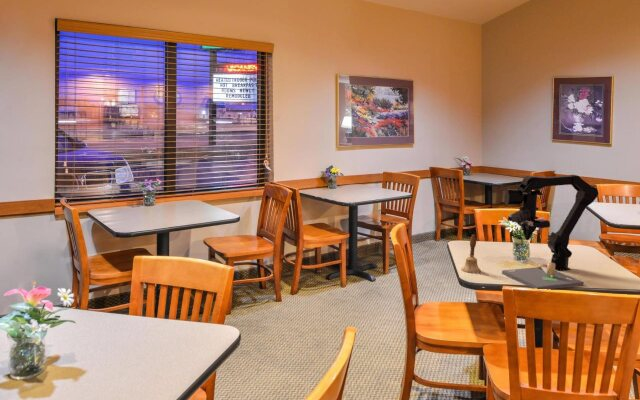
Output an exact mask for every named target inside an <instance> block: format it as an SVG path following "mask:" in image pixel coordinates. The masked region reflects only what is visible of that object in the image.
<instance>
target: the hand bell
mask: <svg viewBox="0 0 640 400" xmlns="http://www.w3.org/2000/svg"><path fill="white" fill-rule="evenodd" d="M476 245H477V238H476V234H471V237H470V240H469V246H470V252H469V256H467V257H466V258H465V263H464V265H463V266H461V268H460V270H461V271H462V272H465V273H470V274H479V273H481V271H482V270H481V269H480V267H479V266H478V259H477V258H476V257H475V247H476Z"/></svg>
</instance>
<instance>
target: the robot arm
mask: <svg viewBox="0 0 640 400" xmlns="http://www.w3.org/2000/svg"><path fill="white" fill-rule="evenodd" d="M568 185H571V186H572V187H573V189H574V190H575V191H576V194H575V202H574V204H573V205H572V207H571V209H570V211H569V212H568V214H567V216H566V218H564V221H563V222H562V225H561V226H560V228H559V229H558V230H557V231H556V232H553V231H552V232H551V233H550V236H549V237H548V238H547V243H546V244H547V247H548V248H549V249H550V252H551V253H552V255H551V259H550V260H551V261H550V263H555V271H558V272H560V271H569V270H571V268H570V267H569V259H570V258H571V257H572V255H573V252H572V251H571V250H570V249H569V248H568V246H569V243H570V236H571V234H572V233H573V230H574V229H575V227H576V226H577V223H578V222H579V220H580V218H581V216H583V213H584V212H585V209H586V208H587V207H588V206H589V205H591V204H592V203H594V201H595V200H596V199H597V198H598V196H599V190H598V188H597V187H595V186H592V185H591V184H590V183H588V182H587V181H585V180H584V179H583V178H581V177H580V175H577V174H567V175H557V176H538V175H525V176H524V177H523V179H522V181H521V183H520V184H519V186H517V188H516V189H511V188H507V189H506V192H505V193H504V196H503V197H504V198H503V199H504V204H505V205H506V206H514V205H515V206H520V207H519V210H517V211H516V212H514V213H509V215H508V216H507V217H508V218H507V221H508V222H512V223H516V224H517V225H518V226H519V227H521V229H522V233H523V236H524V239H525V240H526V241H529V240H530V238H531V237H532V235H533V234H534V231H536V229H537V228H538V229H546V228H550V227H551V222H550V220H548V219H543V218H541V219H538V218H539V217H538V216H537V211H538V210H539V207H537V205H538V204H537V203H538V196H543V193H542V192H541V189H544V188H546V187H555V186H568ZM521 204H522V206H521Z"/></svg>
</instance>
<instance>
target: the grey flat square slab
mask: <svg viewBox="0 0 640 400" xmlns="http://www.w3.org/2000/svg"><path fill="white" fill-rule="evenodd" d="M501 274H502V275H503V276H506V277H507V278H509V279H512V280H514V281H516V282H519V283H520V284H523V285H525V286H527V287H528V288H531V289H533V288H537V289H547V290H553V289H565V288H572V287H573V288H574V287H583V286H584V284H585V283H584V282H585V281H582V280H580V279H578V278H575V277H573V276H569V275H567V274H564V273H562V272H560V271H558V270H555V275H554V276H553V277H550V276H548V275H546V273H545V272H544V271H543V269H541V268H538V266H537V267H536V266H535V267H524V268H516V269H504V270H501Z"/></svg>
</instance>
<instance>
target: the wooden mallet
mask: <svg viewBox="0 0 640 400" xmlns="http://www.w3.org/2000/svg"><path fill="white" fill-rule="evenodd" d="M537 267H538V268H541V269H543V271H544V272H545V273H546V275H548V276H550V277H553V276H554V275H555V271H556V269H555V263H551V262H547V264H546V263H538V264H537Z"/></svg>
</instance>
